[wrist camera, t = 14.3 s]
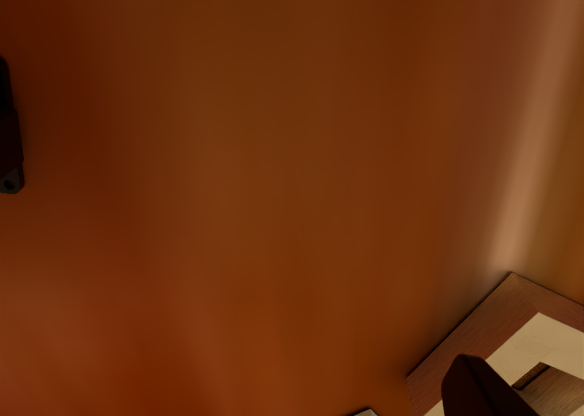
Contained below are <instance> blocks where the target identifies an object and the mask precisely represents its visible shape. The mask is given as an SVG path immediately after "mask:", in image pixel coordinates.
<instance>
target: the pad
mask: <svg viewBox="0 0 584 416" xmlns="http://www.w3.org/2000/svg"><path fill="white" fill-rule="evenodd" d="M354 416H377V415H376V414H375V413H374V412H373V411H372V410H371V409H369V410H367V411H364V412H362V413H359V414H357V415H354Z"/></svg>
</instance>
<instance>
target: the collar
mask: <svg viewBox="0 0 584 416" xmlns="http://www.w3.org/2000/svg"><path fill="white" fill-rule="evenodd" d="M458 354H470V355H477V356H480V357H481V358H483V359H484V360H485V361H486V362H487V363H488V364H489V365H490V366H491V367H492V368H493V369H494V370H495V371H496V372H497V373H498V374H499V375H500V376H501V377H502V378H503V379H504V380H505V381H506V382H507V383H508V384H509V385H510V386H511V385H512V384H514V383H515V382H516V381H517V380H518V379H520V378H521V377H522V376H523V375H524V374H526V373H527V372H528V371H529V370H530V369H532V368H533V367H534V366H535V365H537V364H538V363H539V362H543V363H545V364H547V365H550V366H551V367H550V368H549V369H547V370H546V371H545V372H544V373H542V374H541V375H540V376H539V377H537V378H536V379H535V380H534V381H532V382H531V383H530V384H529V385H528V386H526V387H525V388H524V389H523V390H521V391H520V390H517V389H515V388H513V389H514V390H515V391H516V392H517V393H518V394H519V395H520V396H521V397H522V398H523V399H524V400H525V401H526V402H527V403H528V404H529V405H530V406H531V407H532V408H533V409H534V410H535V411H536V412H537V413H538V414H539V415H540V416H584V306H581V305H579V304H577V303H575V302H573V301H571V300H569V299H567V298H565V297H562V296H560V295H558V294H556V293H554V292H552V291H550V290H548V289H546V288H543V287H541V286H539V285H537V284H535V283H533V282H531V281H529V280H527V279H524V278H522V277H520V276H518V275H516V274H514V273H511V274H510V275H509V276H508V277H507V278H506V279H505V280H504V281H503V282H502V283H501V284H500V285H499V286H498V287H497V288H496V289H495V290H494V291H493V292H492V293H491V294H490V295H489V296H488V297H487V298H486V299H485V300H484V301H483V302H482V303H481V304H480V305H479V306H478V307H477V308H476V309H475V310H474V311H473V312H472V313H471V314H470V315H469V316H468V317H467V318H466V319H465V320H464V321H463V322H462V323H461V324H460V325H459V326H458V327H457V328H456V329H455V330H454V331H453V332H452V333H451V334H450V335H449V336H448V337H447V338H446V339H445V340H444V341H443V342H442V343H441V344H440V345H439V346H438V347H437V348H436V349H435V350H434V351H433V352H432V353H431V354H430V355H429V356H428V357H427V358H426V359H425V360H424V361H423V362H422V363H421V364H420V365H419V366H418V367H417V368H416V369H415V370H414V371H413V372H412V373H411V374H410V375H409V376H408V377H407V378H406V379H405V380H406V384H407V388H408V392H409V396H410V400H411V404H412V408H413V412H414V416H444V410H443V403H442V396H441V384H442V380H443V378H444V376H445V375H446V373H447V371H448V369H449V367H450V366H451V364H452V362H453V360H454V358H455V357H456V356H457V355H458Z"/></svg>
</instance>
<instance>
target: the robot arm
mask: <svg viewBox="0 0 584 416" xmlns="http://www.w3.org/2000/svg"><path fill="white" fill-rule="evenodd" d="M23 161H24V157H23V150H22V143H21V135H20V128H19V121H18V114H17V111H16V109H15V108H14V106H13V99H12V92H11V86H10V79H9V72H8V67H7V64H6V62H5V61H4V60H3V59H2V58H1V57H0V192H1V193H7V194H16V193H18V192H19V191H20V190H21V189H22V188H23V187H24V176H23V169H22V162H23ZM8 180H9V181H12V182H13V183H14V185H15V186H14V185H11V184H10V183H9V181H8ZM441 396H442V403H443V410H444V416H540V415H539V414H538V413H537V412H536V411H535V410H534V409H533V408H532V407H531V406H530V405H529V404H528V403H527V402H526V401H525V400H524V399H523V398H522V397H521V396H520V395H519V394H518V393H517V392H516V391H515V390H514V389H513V388H512V387H511V386H510V385H509V384H508V383H507V382H506V381H505V380H504V379H503V378H502V377H501V376H500V375H499V374H498V373H497V372H496V371H495V370H494V369H493V368H492V367H491V366H490V365H489V364H488V363H487V362H486V361H485V360H484V359H483V358H481V357H480V356H477V355H470V354H458V355H457V356H456V357H455V358H454V360H453V362H452V364H451V366H450V367H449V369H448V371H447V373H446V375H445V376H444V378H443V380H442V384H441Z"/></svg>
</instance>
